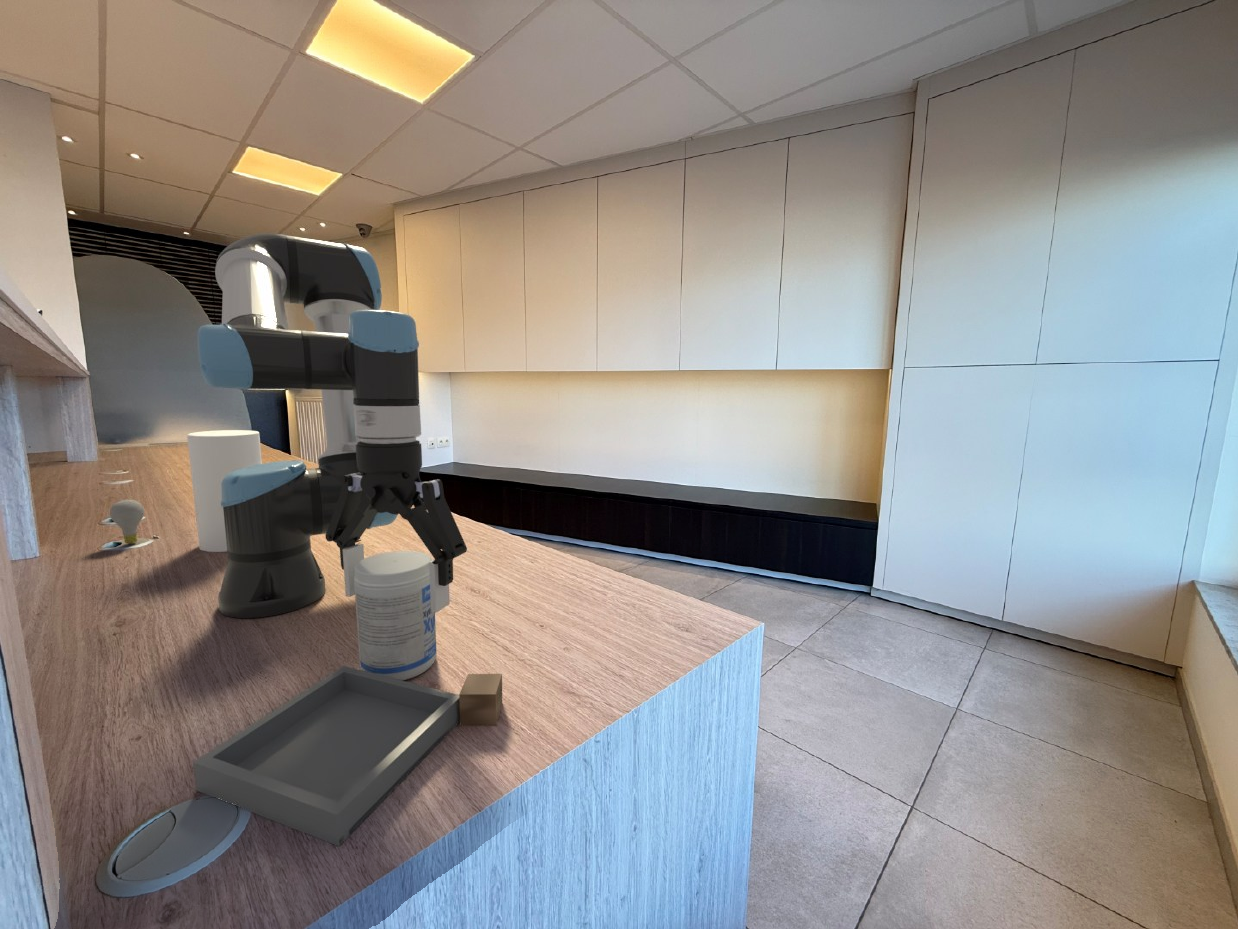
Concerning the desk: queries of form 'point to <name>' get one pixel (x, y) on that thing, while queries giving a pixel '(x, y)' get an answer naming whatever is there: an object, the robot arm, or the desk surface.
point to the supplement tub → (395, 614)
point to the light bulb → (127, 518)
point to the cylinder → (217, 477)
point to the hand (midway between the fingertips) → (396, 600)
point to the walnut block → (481, 700)
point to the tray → (330, 752)
